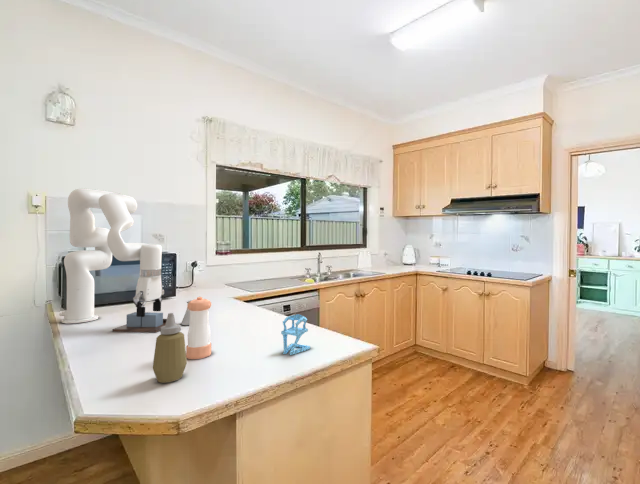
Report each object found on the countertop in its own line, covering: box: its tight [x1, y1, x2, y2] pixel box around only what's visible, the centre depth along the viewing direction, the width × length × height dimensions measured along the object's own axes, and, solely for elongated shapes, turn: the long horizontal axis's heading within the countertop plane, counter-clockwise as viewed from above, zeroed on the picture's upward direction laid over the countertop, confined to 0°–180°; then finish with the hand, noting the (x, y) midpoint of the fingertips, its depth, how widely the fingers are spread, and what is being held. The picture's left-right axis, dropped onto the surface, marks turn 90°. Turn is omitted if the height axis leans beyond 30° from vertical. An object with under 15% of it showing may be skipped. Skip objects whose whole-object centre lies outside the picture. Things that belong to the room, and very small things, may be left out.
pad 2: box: [142, 312, 164, 327], centre depth 141 cm, size 6×5×5 cm
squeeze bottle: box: [152, 312, 188, 384], centre depth 92 cm, size 8×8×18 cm
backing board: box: [111, 318, 167, 333], centre depth 142 cm, size 18×12×2 cm, turn 88°
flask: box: [180, 299, 193, 326], centre depth 149 cm, size 7×7×10 cm
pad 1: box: [126, 311, 149, 327], centre depth 142 cm, size 6×5×5 cm
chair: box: [280, 313, 311, 356], centre depth 116 cm, size 8×8×12 cm
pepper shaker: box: [185, 296, 212, 360], centre depth 110 cm, size 7×7×19 cm
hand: (149, 313), depth 142 cm, fingers open, 9 cm apart
